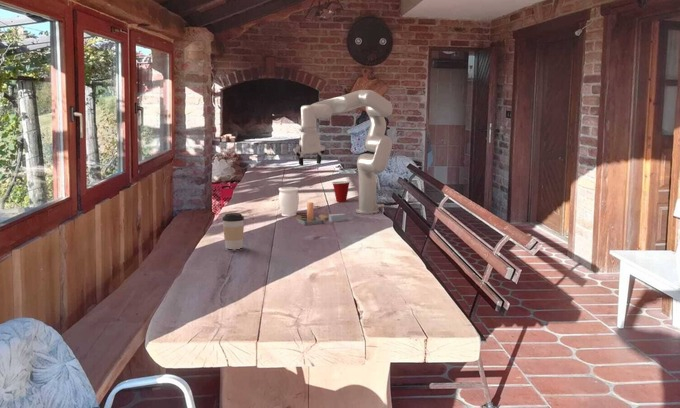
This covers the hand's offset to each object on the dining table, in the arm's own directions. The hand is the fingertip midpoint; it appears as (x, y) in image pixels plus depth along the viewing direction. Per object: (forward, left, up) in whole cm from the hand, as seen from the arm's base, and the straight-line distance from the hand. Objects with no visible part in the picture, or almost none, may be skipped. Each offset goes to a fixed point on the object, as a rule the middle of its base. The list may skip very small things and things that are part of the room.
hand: (310, 164), depth 339 cm
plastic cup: (-39, -43, -29) cm, 65 cm away
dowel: (+5, +10, -28) cm, 30 cm away
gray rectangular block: (-9, +11, -29) cm, 32 cm away
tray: (+5, +10, -29) cm, 31 cm away
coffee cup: (+54, +39, -29) cm, 72 cm away
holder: (+4, +1, -29) cm, 29 cm away
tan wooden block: (-8, +5, -29) cm, 30 cm away
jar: (+6, -15, -29) cm, 33 cm away
